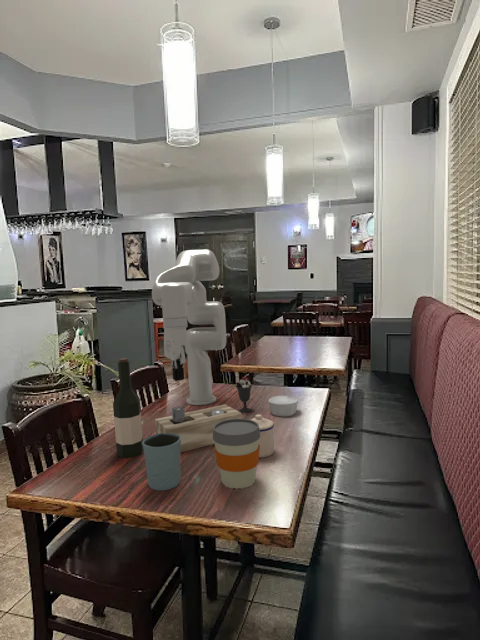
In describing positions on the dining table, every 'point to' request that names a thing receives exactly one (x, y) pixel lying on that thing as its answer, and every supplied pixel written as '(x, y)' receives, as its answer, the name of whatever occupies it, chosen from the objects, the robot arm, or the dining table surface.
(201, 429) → the birch block
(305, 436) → the dining table surface
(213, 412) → the steel peg
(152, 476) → the blue cup
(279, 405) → the ramekin
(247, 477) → the reusable coffee cup
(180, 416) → the graphite peg
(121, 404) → the wine bottle
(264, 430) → the teacup with lid
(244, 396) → the sundae
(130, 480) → the dining table surface
